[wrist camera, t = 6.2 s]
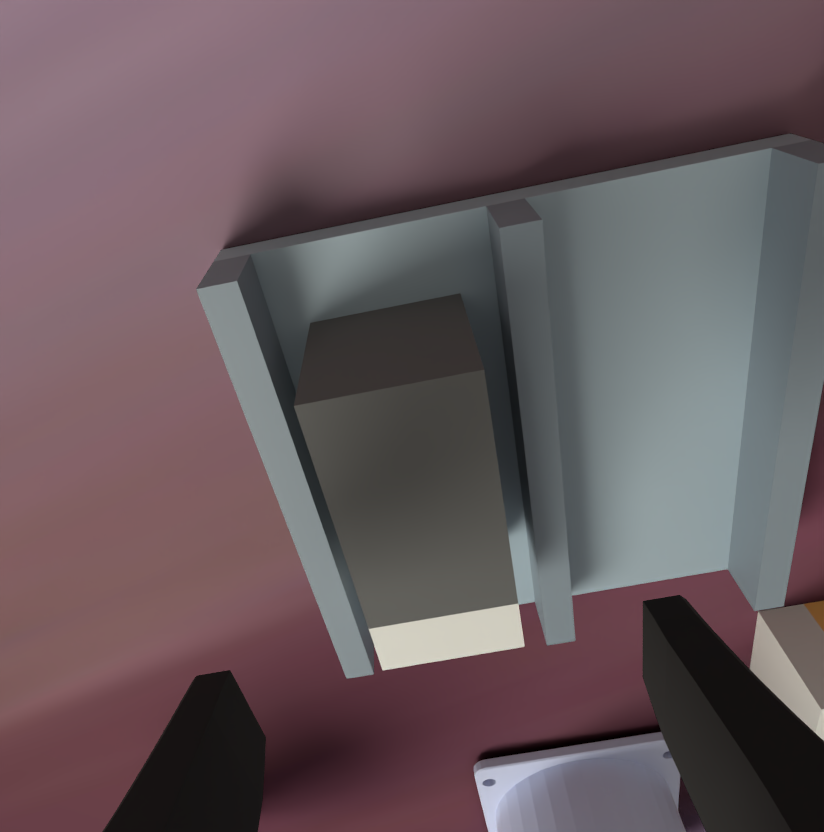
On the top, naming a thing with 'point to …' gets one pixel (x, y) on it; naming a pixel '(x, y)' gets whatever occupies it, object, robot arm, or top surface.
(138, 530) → the top surface
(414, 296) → the slot board
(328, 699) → the top surface
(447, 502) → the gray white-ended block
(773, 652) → the tall orange block
